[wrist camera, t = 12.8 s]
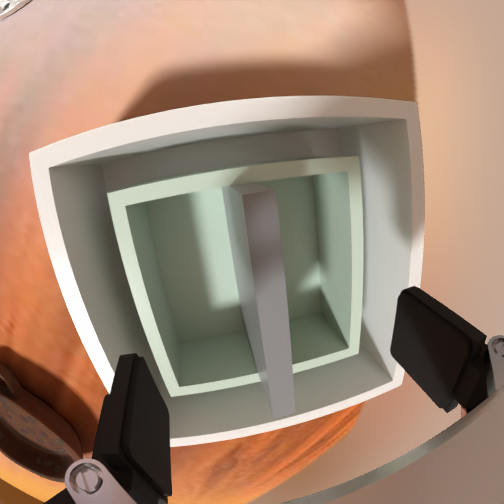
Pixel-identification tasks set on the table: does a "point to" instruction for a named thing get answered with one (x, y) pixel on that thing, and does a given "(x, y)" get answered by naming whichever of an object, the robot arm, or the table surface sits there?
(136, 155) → the big crate
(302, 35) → the table surface
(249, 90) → the table surface
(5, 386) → the dish
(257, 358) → the small crate
